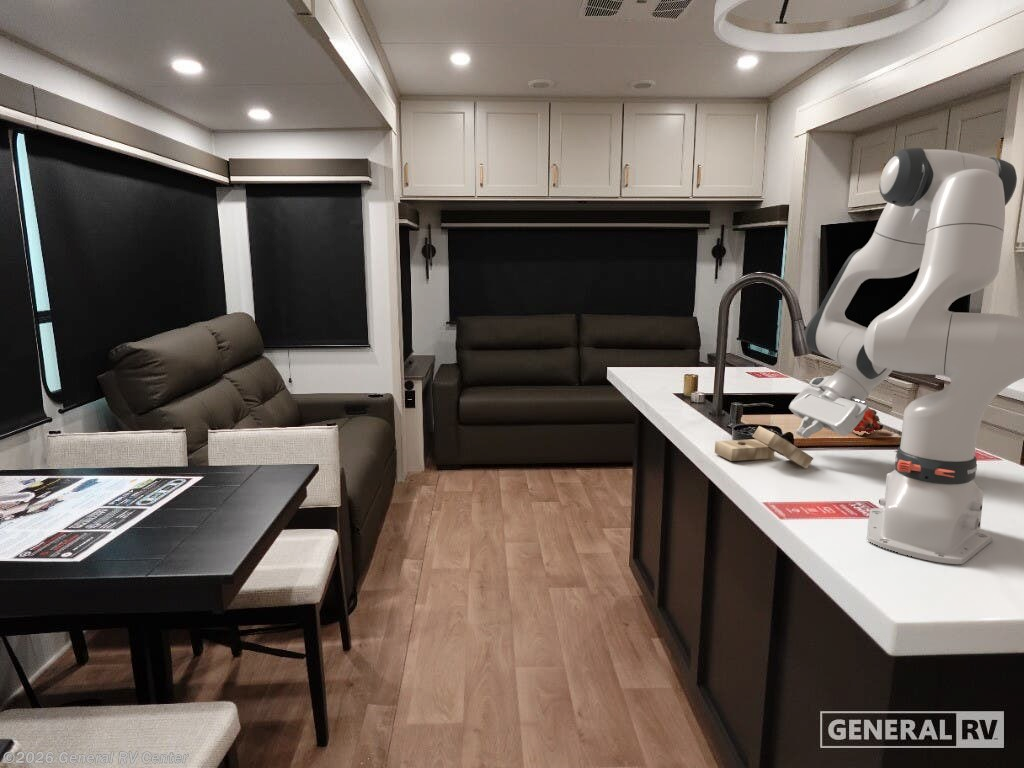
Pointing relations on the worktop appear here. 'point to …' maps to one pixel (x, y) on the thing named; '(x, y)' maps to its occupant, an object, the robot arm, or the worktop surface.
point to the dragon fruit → (869, 422)
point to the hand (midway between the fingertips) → (800, 435)
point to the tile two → (782, 447)
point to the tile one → (743, 450)
